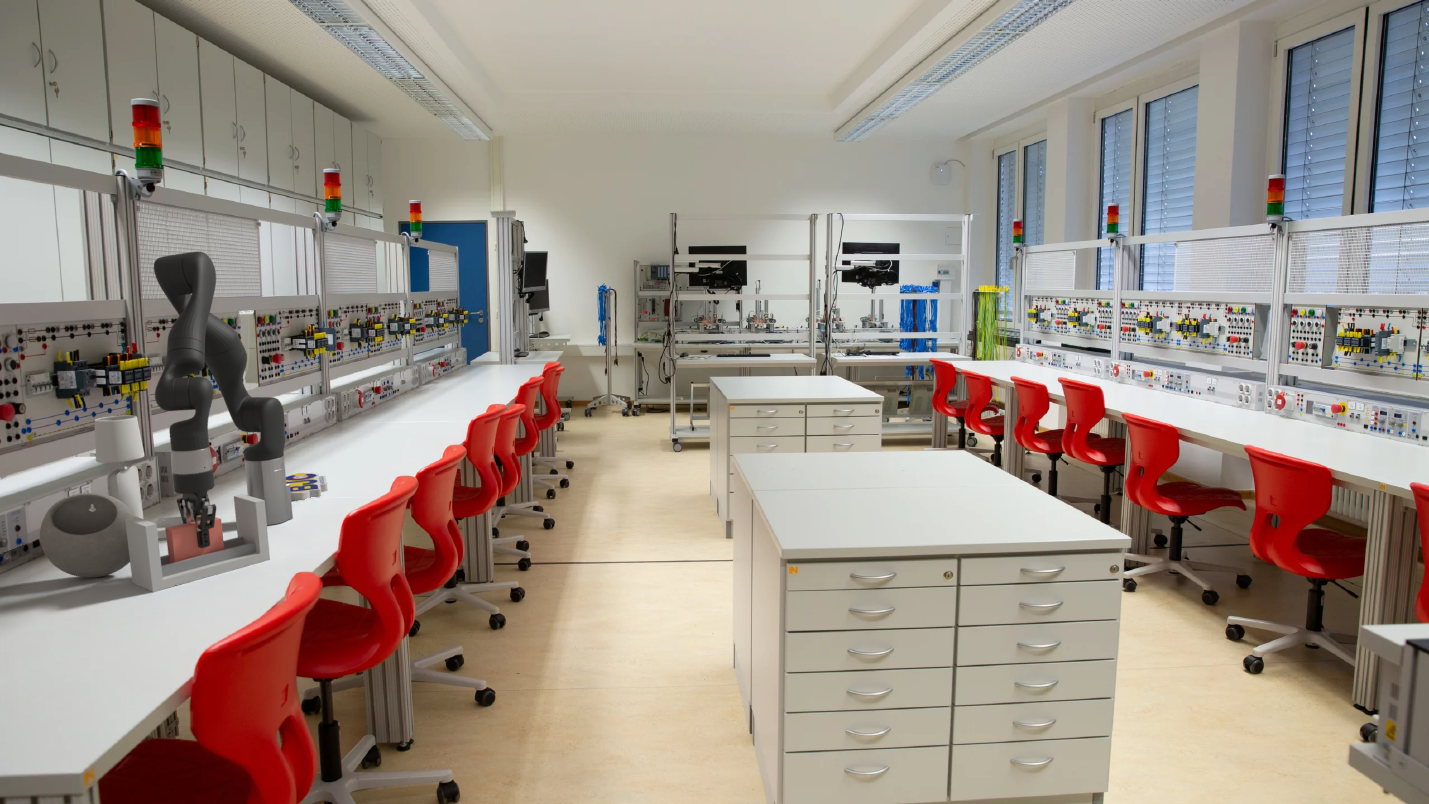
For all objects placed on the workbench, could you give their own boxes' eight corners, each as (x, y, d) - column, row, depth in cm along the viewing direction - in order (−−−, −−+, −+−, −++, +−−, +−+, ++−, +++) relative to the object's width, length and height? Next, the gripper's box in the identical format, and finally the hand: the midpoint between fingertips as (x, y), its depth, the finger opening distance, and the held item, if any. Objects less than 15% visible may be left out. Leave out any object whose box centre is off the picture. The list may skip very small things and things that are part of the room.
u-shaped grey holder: (248, 551, 197) (242, 494, 195) (269, 559, 192) (264, 500, 189) (132, 582, 178) (125, 518, 176) (153, 592, 172) (145, 526, 170)
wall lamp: (192, 536, 209) (179, 418, 205) (96, 542, 205) (81, 422, 201) (209, 524, 219) (197, 412, 215) (118, 530, 215) (104, 415, 211)
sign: (328, 489, 246) (251, 498, 237) (329, 498, 246) (252, 507, 237) (324, 470, 271) (254, 477, 262) (325, 478, 271) (254, 485, 262)
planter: (37, 587, 176) (26, 500, 173) (54, 575, 182) (43, 492, 179) (138, 578, 180) (128, 493, 178) (151, 567, 187) (141, 485, 184)
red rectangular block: (218, 555, 189) (214, 516, 187) (225, 557, 187) (221, 518, 185) (169, 568, 180) (165, 527, 179) (176, 570, 179) (171, 530, 177)
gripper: (226, 469, 180) (233, 546, 183) (196, 461, 188) (203, 535, 191) (188, 476, 174) (196, 556, 177) (159, 468, 182) (167, 544, 185)
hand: (200, 545), depth 184 cm, fingers closed on red rectangular block, 3 cm apart
